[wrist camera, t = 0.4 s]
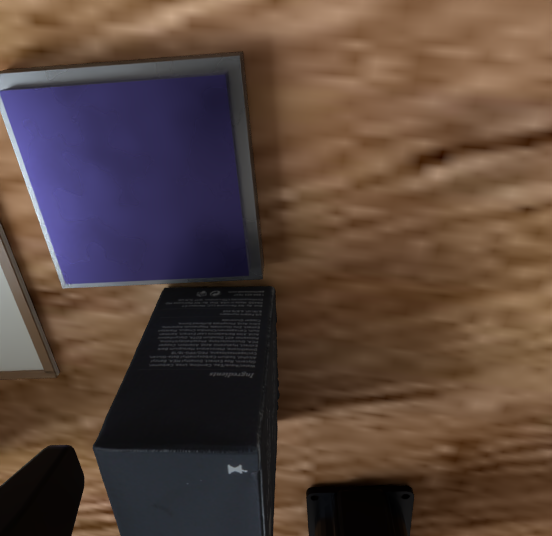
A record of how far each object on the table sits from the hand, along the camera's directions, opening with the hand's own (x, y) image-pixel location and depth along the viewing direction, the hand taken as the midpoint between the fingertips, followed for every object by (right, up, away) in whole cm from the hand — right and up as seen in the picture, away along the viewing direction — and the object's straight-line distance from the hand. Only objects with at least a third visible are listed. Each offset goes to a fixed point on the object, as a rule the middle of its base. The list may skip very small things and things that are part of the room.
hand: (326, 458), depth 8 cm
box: (-3, -1, +17) cm, 17 cm away
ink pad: (-6, +7, +12) cm, 15 cm away
